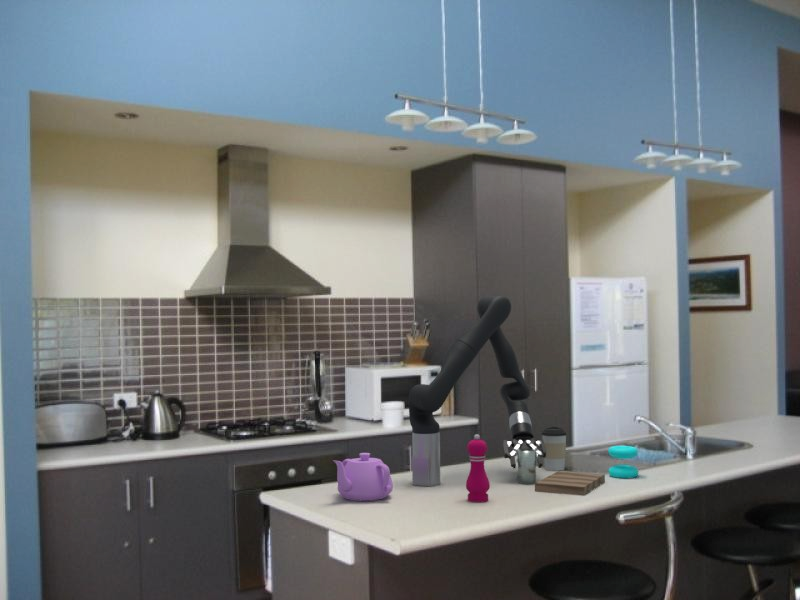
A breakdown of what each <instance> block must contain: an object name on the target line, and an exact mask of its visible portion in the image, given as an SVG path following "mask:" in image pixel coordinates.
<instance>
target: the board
mask: <svg viewBox="0 0 800 600" xmlns="http://www.w3.org/2000/svg"><path fill="white" fill-rule="evenodd" d="M605 482H606V475H605V474H603V473H590V472H576V471H564V470H560V471H555V472H553V473H551V474H550V475H548V476H546V477H544V478H542V479H540V480H538V481H536V483H535V484H534V491H535V492H541V493H542V492H543V493H551V494H552V493H554V494H562V493H563V494H566V495H577V496H586V495H587V494H588V493H591V492H592V491H593V490H595V489H596V488H598V487H599V486H600V484H601V485H602V484H604V483H605ZM597 486H598V487H597ZM594 488H595V489H594ZM591 490H592V491H591Z"/></svg>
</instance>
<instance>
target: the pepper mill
mask: <svg viewBox="0 0 800 600" xmlns="http://www.w3.org/2000/svg"><path fill="white" fill-rule="evenodd" d="M467 443H468V444H467V447H466V450H467V452H468V453H469V456H468V457H469V459H468V460H469V461H470V470H469V473H468V476H467V477H466V480H465V481H466V482H465V488H466V490H467V491H468V494H467V501H468V502H471V503H485V502H489V494H488V491H489V490H490V488H491V487H490V485H491V484H490V480H489V477H488V476H487V472H486V470H485V461H486V460H487V459H486V452H487V451H488V446H487V443H486V442H485V441H484V439H483V440H482V439H481V436H480V434H477V433H476V434H474V436H473V439H472V440H470V441H469V442H467Z"/></svg>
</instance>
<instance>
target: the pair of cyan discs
mask: <svg viewBox="0 0 800 600" xmlns="http://www.w3.org/2000/svg"><path fill="white" fill-rule="evenodd" d="M607 453H608V454H609V456H610V457H611V458H614V459H621V460H629V459H634V458H635V457H636V456H638V454H639V450H638V448H637V447H635V446H630V445H612V446H610V447H608V451H607ZM608 474H609V476H611V477H612V478H616V477H617V478H618V479H631V478H632V479H633V477H634V478H637V476H638V475H639V470H638V468H637V467H635V466H634V465H629V464H615V465H612V466H611V467H609V469H608ZM617 478H616V479H617Z"/></svg>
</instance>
